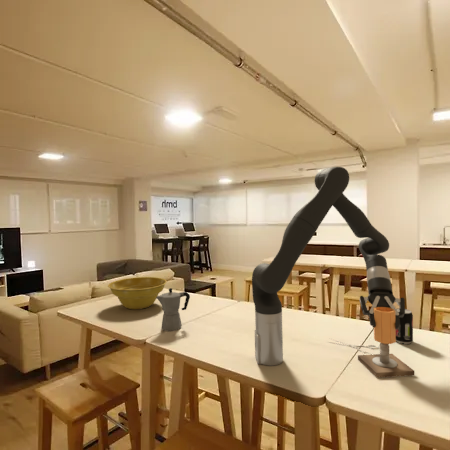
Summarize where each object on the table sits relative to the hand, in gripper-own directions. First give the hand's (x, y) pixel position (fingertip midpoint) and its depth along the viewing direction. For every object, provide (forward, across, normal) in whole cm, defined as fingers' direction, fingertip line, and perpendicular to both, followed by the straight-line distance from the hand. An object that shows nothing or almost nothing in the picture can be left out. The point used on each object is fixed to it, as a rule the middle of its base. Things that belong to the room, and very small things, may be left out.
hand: (385, 327), depth 101 cm
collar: (+2, 0, +5) cm, 5 cm away
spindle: (+9, 0, +11) cm, 14 cm away
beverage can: (-8, +10, +28) cm, 31 cm away
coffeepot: (-4, -84, +23) cm, 87 cm away
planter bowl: (-22, -119, +42) cm, 128 cm away
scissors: (-1, -9, +22) cm, 24 cm away
